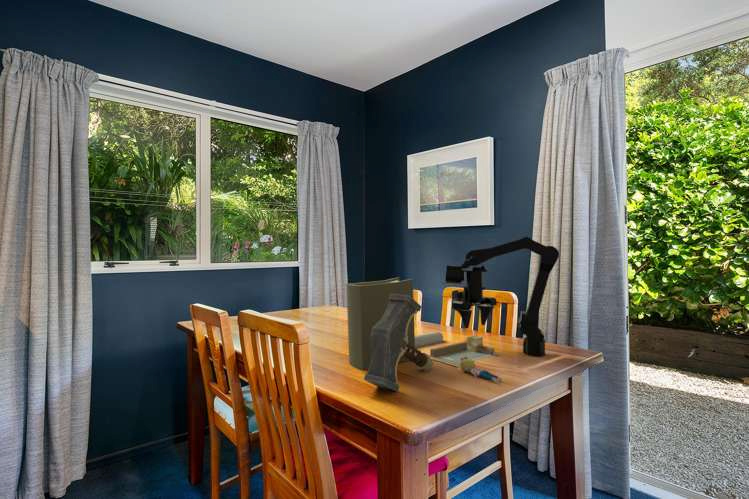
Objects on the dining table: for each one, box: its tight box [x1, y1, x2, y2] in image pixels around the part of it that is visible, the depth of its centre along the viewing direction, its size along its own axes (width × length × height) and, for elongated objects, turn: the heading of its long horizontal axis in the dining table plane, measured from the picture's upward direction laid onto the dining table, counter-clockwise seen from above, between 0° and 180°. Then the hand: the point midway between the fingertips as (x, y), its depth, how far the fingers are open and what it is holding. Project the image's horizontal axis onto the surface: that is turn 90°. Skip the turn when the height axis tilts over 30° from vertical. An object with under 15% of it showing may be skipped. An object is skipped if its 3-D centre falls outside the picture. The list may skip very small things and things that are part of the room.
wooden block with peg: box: [466, 334, 495, 355], centre depth 150 cm, size 10×4×5 cm, turn 37°
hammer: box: [363, 294, 434, 393], centre depth 122 cm, size 27×9×30 cm
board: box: [428, 340, 499, 369], centre depth 146 cm, size 14×22×3 cm, turn 127°
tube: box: [415, 331, 444, 349], centre depth 161 cm, size 5×5×25 cm
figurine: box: [459, 357, 503, 385], centre depth 125 cm, size 6×4×15 cm
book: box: [346, 276, 416, 371], centre depth 141 cm, size 22×9×28 cm, turn 121°
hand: (475, 326), depth 152 cm, fingers open, 9 cm apart
